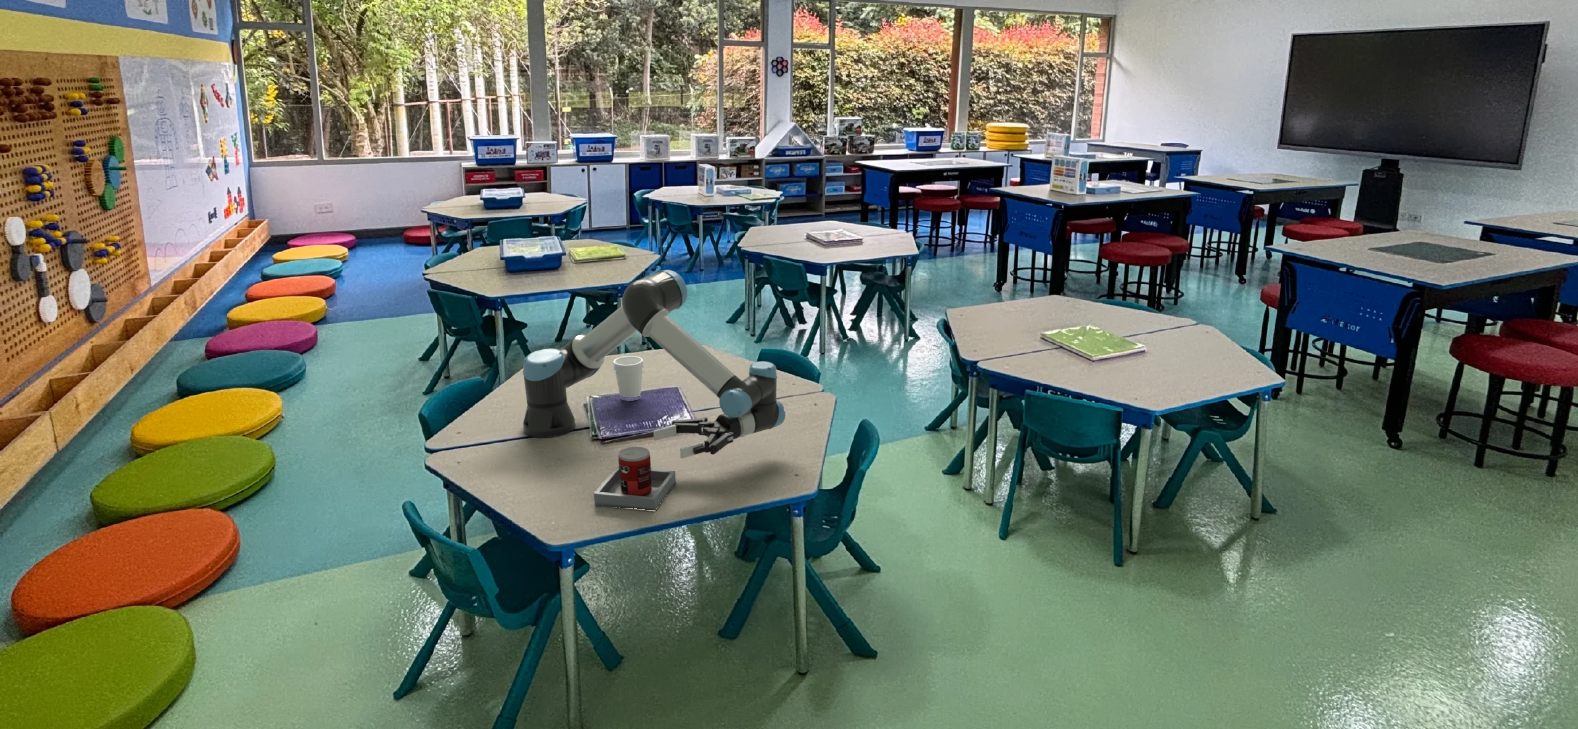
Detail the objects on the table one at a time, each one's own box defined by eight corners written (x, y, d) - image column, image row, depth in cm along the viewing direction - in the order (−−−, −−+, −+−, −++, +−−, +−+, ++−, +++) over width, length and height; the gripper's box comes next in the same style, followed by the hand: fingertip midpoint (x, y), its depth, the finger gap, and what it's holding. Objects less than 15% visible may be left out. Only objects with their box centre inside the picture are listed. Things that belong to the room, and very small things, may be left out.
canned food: (622, 485, 240) (619, 446, 236) (653, 483, 240) (650, 445, 237) (619, 499, 233) (616, 459, 229) (651, 497, 233) (648, 458, 230)
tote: (594, 505, 231) (593, 493, 230) (618, 477, 246) (617, 465, 245) (655, 512, 228) (654, 499, 227) (675, 483, 243) (675, 471, 241)
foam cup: (638, 404, 295) (636, 366, 290) (611, 402, 296) (608, 364, 292) (648, 393, 303) (646, 356, 299) (622, 391, 305) (619, 354, 301)
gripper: (761, 453, 244) (693, 474, 232) (709, 422, 262) (644, 441, 250) (761, 427, 241) (692, 447, 229) (709, 398, 260) (643, 415, 248)
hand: (667, 444), depth 240 cm, fingers open, 13 cm apart
